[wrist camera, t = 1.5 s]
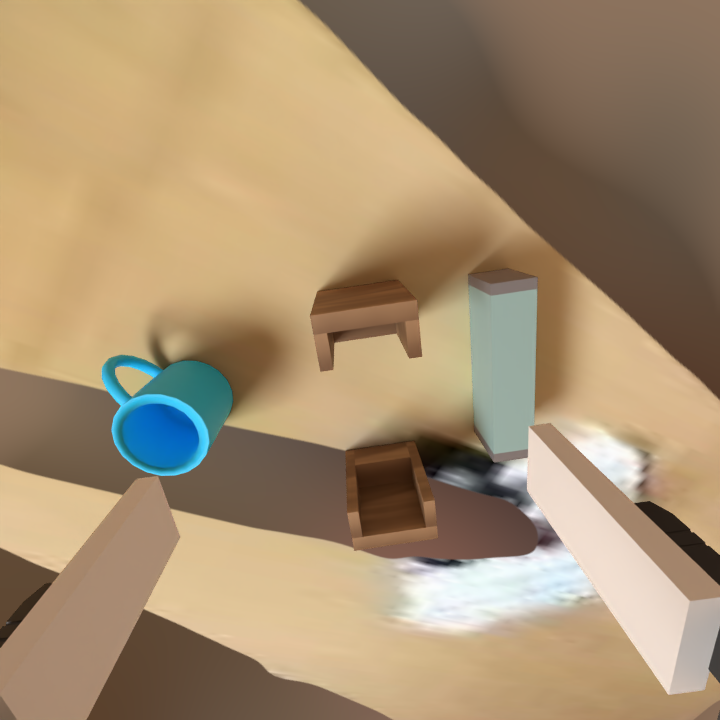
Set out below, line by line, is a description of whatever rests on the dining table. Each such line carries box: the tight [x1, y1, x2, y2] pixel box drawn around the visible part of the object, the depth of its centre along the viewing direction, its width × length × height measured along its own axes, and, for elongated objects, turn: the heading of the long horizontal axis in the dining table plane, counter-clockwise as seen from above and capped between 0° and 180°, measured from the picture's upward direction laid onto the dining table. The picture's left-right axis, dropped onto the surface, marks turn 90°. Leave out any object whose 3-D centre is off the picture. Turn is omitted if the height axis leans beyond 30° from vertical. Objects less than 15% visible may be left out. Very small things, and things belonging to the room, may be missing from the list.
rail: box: [468, 269, 538, 462], centre depth 38 cm, size 18×4×6 cm, turn 8°
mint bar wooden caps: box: [310, 280, 438, 551], centre depth 37 cm, size 23×8×10 cm, turn 8°
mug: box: [102, 355, 233, 476], centre depth 37 cm, size 12×8×8 cm
